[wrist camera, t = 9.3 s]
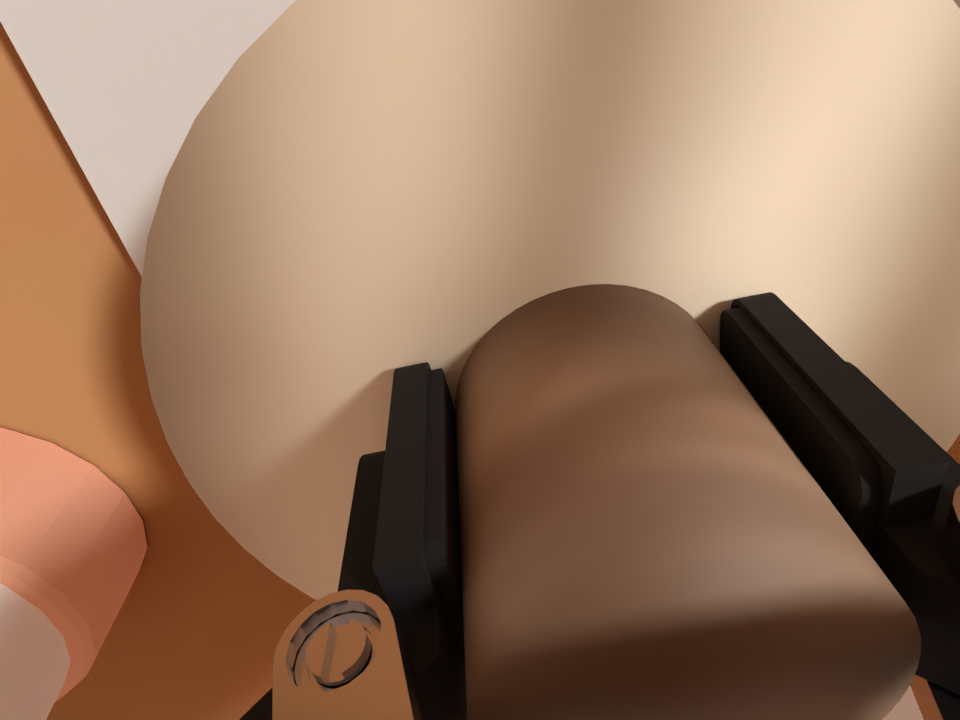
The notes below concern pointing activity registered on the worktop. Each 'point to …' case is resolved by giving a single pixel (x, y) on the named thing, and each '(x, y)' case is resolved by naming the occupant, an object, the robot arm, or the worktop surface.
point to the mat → (132, 85)
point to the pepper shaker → (58, 570)
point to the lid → (573, 321)
